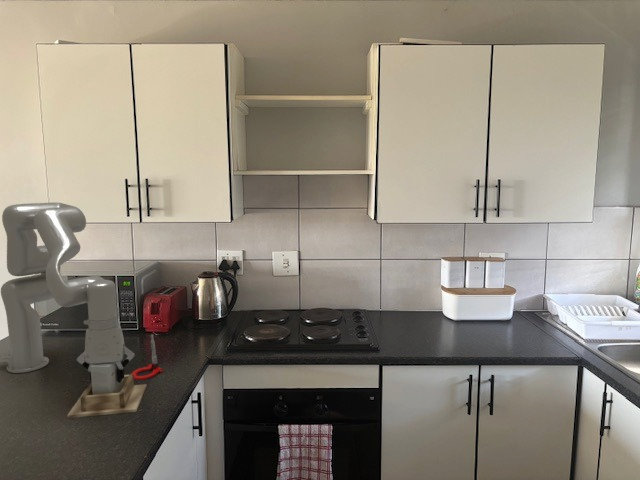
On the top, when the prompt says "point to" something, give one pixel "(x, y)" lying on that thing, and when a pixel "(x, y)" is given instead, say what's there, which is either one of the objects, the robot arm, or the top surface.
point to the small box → (105, 378)
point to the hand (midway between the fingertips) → (107, 381)
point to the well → (109, 400)
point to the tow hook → (153, 365)
